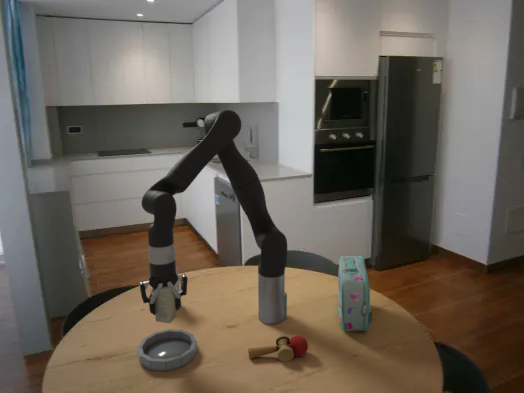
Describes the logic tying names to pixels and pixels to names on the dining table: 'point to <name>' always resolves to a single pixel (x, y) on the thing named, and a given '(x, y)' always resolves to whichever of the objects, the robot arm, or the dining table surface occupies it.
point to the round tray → (167, 350)
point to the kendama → (282, 348)
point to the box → (165, 305)
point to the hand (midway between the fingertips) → (165, 311)
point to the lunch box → (353, 294)
